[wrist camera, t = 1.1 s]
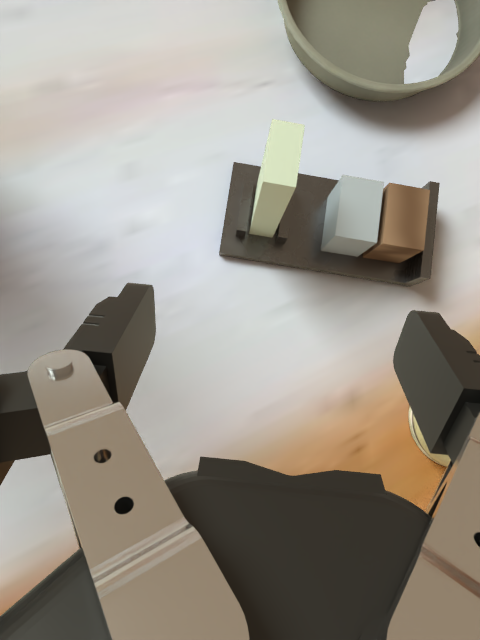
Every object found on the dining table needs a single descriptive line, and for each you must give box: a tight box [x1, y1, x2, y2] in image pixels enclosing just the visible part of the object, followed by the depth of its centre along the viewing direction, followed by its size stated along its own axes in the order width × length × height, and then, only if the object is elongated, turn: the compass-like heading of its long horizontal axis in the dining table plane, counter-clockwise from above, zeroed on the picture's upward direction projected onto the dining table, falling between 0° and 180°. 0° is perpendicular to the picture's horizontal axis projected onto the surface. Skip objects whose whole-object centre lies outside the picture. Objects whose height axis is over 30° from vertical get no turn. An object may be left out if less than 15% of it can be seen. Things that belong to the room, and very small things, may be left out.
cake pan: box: [278, 0, 480, 101], centre depth 43 cm, size 25×25×4 cm
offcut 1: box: [321, 175, 384, 257], centre depth 39 cm, size 4×6×5 cm, turn 171°
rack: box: [219, 162, 439, 286], centre depth 40 cm, size 21×10×4 cm, turn 81°
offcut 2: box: [363, 183, 430, 263], centre depth 39 cm, size 4×6×5 cm, turn 171°
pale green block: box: [249, 119, 305, 237], centre depth 35 cm, size 2×5×12 cm, turn 171°
